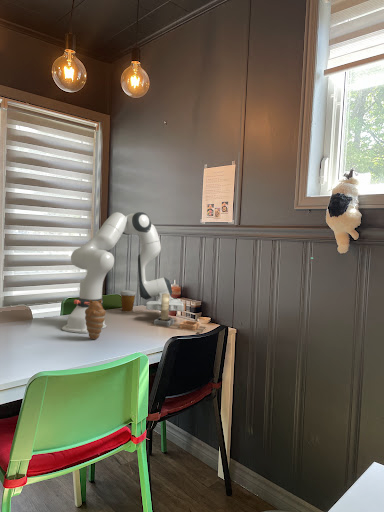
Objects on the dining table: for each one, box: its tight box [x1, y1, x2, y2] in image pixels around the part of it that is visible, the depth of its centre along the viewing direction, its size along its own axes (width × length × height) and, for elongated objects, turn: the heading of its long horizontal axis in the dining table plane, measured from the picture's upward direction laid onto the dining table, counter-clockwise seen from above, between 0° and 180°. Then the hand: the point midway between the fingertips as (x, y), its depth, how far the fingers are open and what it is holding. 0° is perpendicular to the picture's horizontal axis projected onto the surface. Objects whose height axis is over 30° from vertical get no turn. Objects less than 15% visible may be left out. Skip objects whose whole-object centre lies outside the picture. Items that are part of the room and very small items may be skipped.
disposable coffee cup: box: [119, 289, 137, 313], centre depth 234 cm, size 10×10×12 cm
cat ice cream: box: [85, 300, 107, 340], centre depth 170 cm, size 9×8×18 cm
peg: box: [160, 293, 170, 321], centre depth 200 cm, size 4×4×16 cm
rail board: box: [147, 316, 207, 335], centre depth 198 cm, size 12×28×4 cm, turn 73°
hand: (165, 309), depth 199 cm, fingers closed on peg, 4 cm apart
